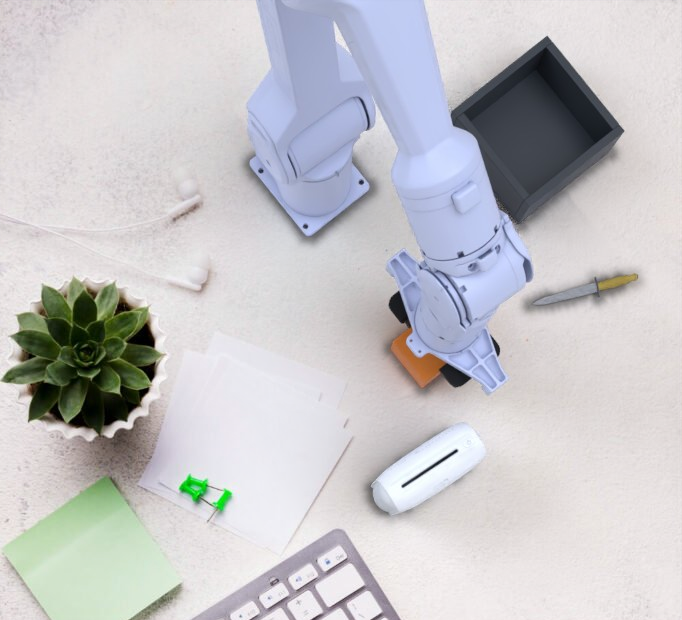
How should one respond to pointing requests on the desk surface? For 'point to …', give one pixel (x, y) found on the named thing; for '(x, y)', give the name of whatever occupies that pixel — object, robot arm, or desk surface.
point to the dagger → (588, 289)
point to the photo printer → (428, 469)
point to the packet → (416, 361)
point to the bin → (536, 128)
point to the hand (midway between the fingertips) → (434, 343)
